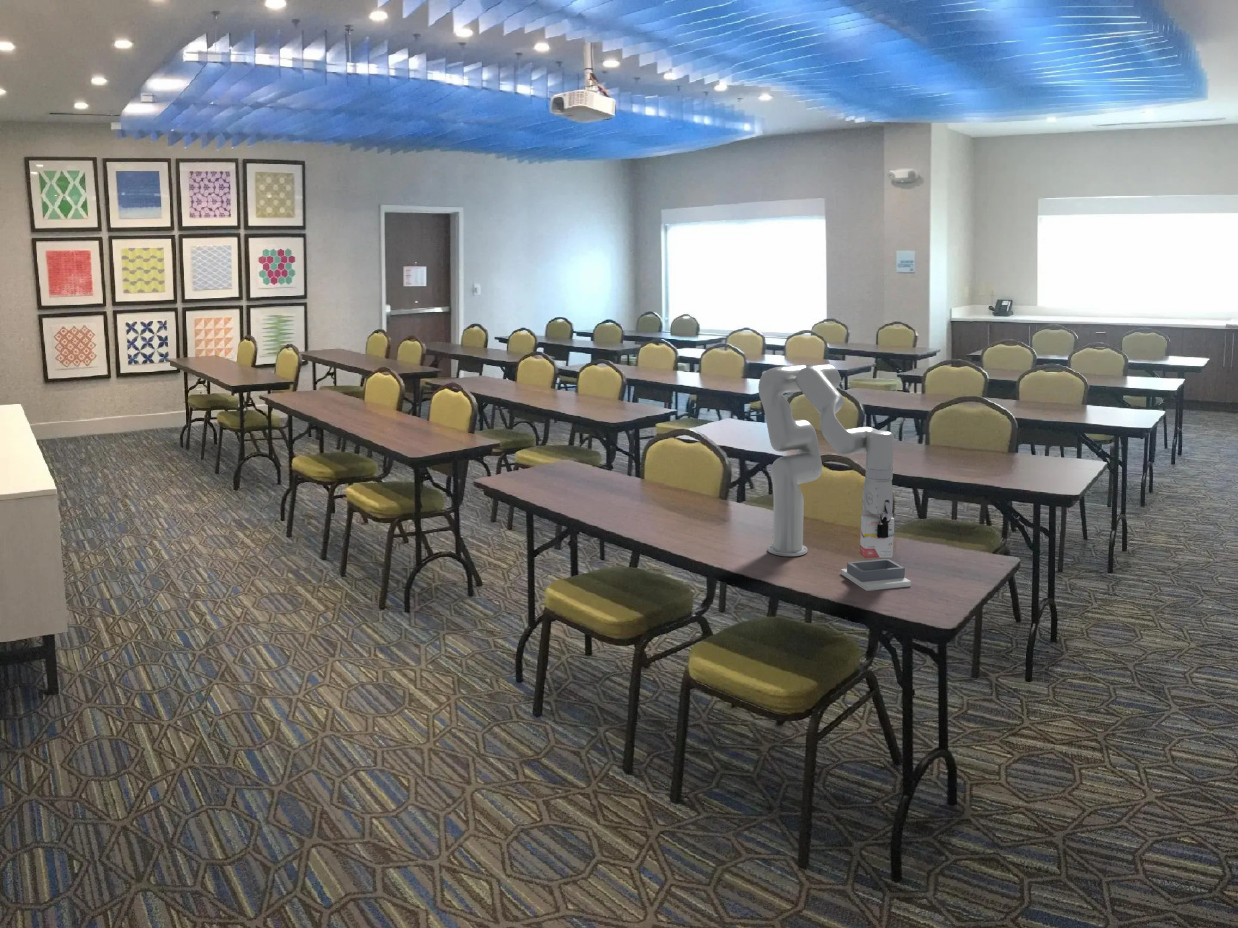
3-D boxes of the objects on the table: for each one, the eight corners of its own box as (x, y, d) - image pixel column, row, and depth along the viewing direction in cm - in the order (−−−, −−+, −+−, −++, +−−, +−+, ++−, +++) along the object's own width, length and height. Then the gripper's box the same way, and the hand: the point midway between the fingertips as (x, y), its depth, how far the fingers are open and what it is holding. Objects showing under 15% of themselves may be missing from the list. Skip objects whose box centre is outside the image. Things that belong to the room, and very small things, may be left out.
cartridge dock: (840, 573, 288) (841, 559, 287) (883, 569, 291) (883, 555, 290) (866, 590, 272) (866, 575, 271) (910, 586, 275) (911, 571, 275)
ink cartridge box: (864, 558, 277) (865, 509, 274) (859, 553, 282) (860, 505, 279) (893, 557, 278) (895, 508, 275) (888, 552, 282) (889, 504, 280)
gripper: (853, 469, 282) (851, 528, 286) (881, 480, 266) (879, 543, 270) (876, 467, 284) (874, 526, 288) (906, 479, 268) (904, 541, 271)
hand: (877, 534), depth 279 cm, fingers closed on ink cartridge box, 5 cm apart
